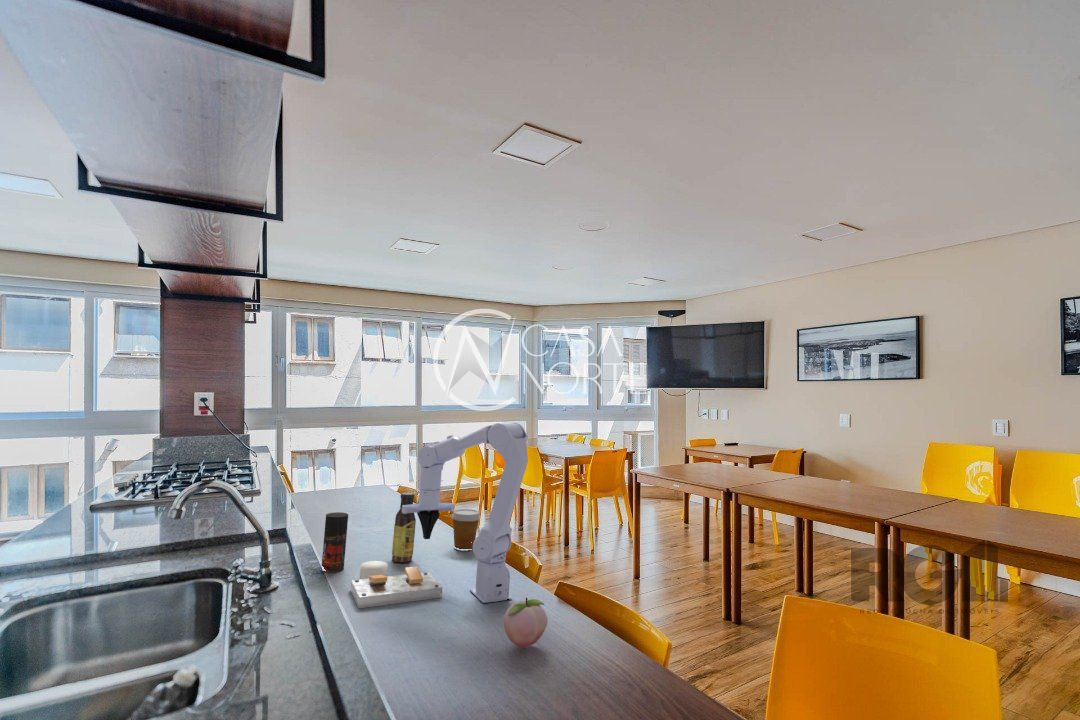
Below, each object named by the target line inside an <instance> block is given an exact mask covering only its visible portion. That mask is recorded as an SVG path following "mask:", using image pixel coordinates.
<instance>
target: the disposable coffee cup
mask: <svg viewBox="0 0 1080 720" xmlns="http://www.w3.org/2000/svg"><path fill="white" fill-rule="evenodd" d="M452 512H453V513H452V514H451V518H452V522H453V523H452V524H453V526H452V527H453V546H455V547H456V548H459V549H473V542H474V540H475V539H476V538H477V531H478V525H479V520H480V518H481V514H480V511H479V510H476V509H472V508H471V509H469V508H459V509H454V511H452ZM471 542H472V543H471Z"/></svg>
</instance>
